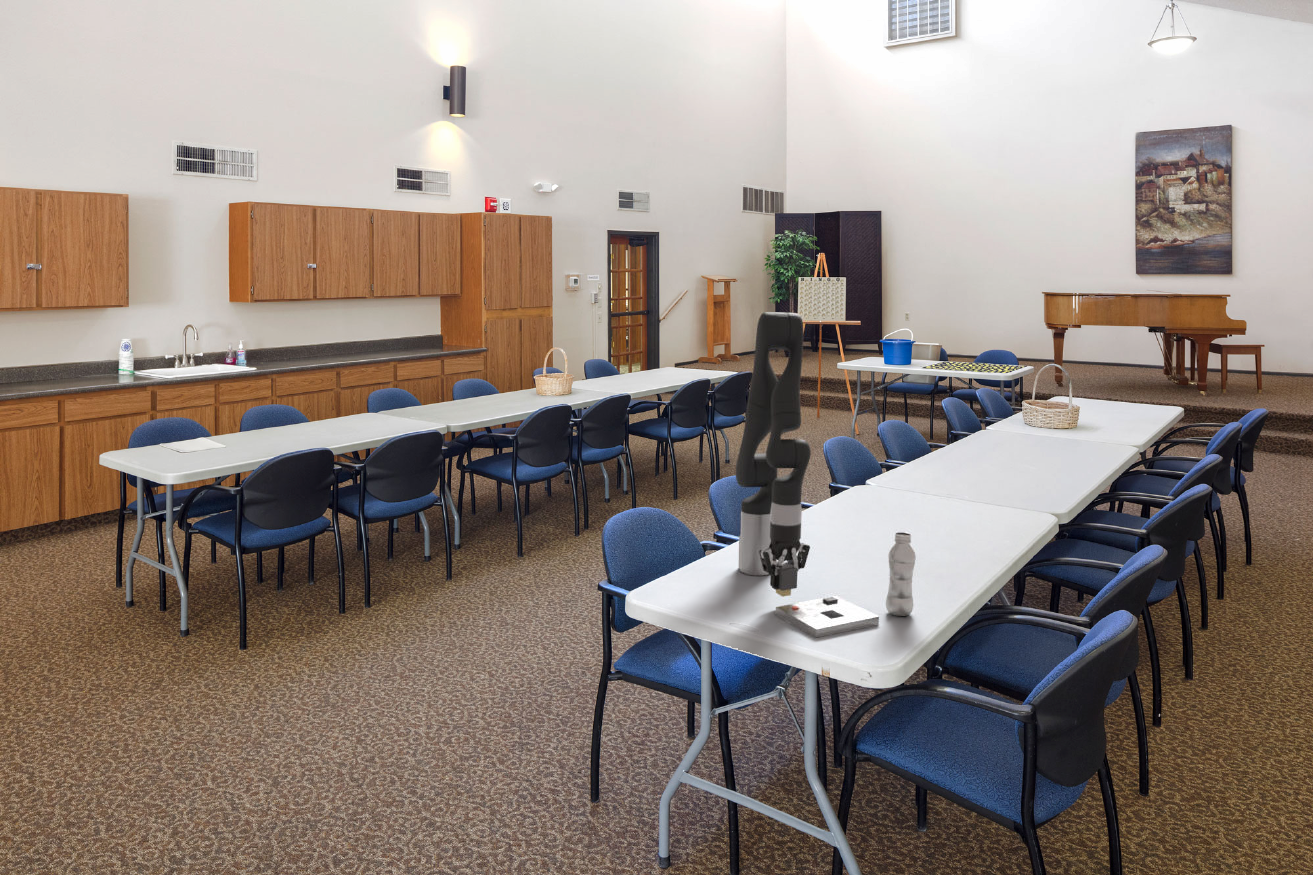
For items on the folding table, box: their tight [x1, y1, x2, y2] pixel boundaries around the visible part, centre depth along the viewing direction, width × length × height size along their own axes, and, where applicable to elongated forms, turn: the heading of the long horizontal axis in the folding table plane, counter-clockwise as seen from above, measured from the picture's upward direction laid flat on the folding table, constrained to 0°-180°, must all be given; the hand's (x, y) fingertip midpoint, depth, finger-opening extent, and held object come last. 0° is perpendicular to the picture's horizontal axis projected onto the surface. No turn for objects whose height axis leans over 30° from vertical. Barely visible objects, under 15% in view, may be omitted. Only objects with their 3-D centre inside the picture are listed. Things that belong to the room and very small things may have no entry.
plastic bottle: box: [885, 531, 917, 617], centre depth 213 cm, size 6×7×20 cm
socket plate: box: [775, 595, 880, 638], centre depth 211 cm, size 16×18×3 cm
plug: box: [775, 561, 799, 597], centre depth 218 cm, size 5×4×8 cm
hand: (783, 586), depth 219 cm, fingers closed on plug, 4 cm apart
